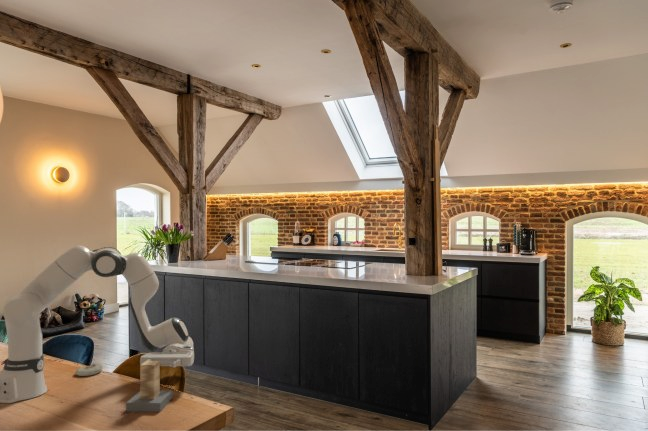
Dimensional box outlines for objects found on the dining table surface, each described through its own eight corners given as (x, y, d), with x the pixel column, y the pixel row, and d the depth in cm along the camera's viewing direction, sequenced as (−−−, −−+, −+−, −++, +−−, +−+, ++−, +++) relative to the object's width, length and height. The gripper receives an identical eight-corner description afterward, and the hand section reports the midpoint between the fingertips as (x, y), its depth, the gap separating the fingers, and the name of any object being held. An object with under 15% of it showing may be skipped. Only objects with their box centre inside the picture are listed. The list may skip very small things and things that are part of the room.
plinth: (126, 411, 162) (126, 402, 162) (140, 398, 174) (140, 390, 174) (160, 411, 162) (160, 403, 162) (172, 398, 174) (172, 390, 174)
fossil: (89, 359, 210) (108, 363, 208) (88, 367, 210) (107, 371, 208) (71, 366, 199) (92, 371, 197) (70, 375, 199) (91, 379, 197)
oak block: (140, 398, 166) (140, 365, 166) (146, 393, 171) (146, 360, 171) (154, 399, 166) (154, 365, 166) (159, 393, 171) (159, 360, 171)
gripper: (148, 347, 192) (133, 357, 178) (197, 347, 191) (186, 357, 177) (148, 362, 192) (133, 373, 178) (197, 362, 191) (186, 374, 177)
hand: (160, 365), depth 177 cm, fingers open, 8 cm apart
